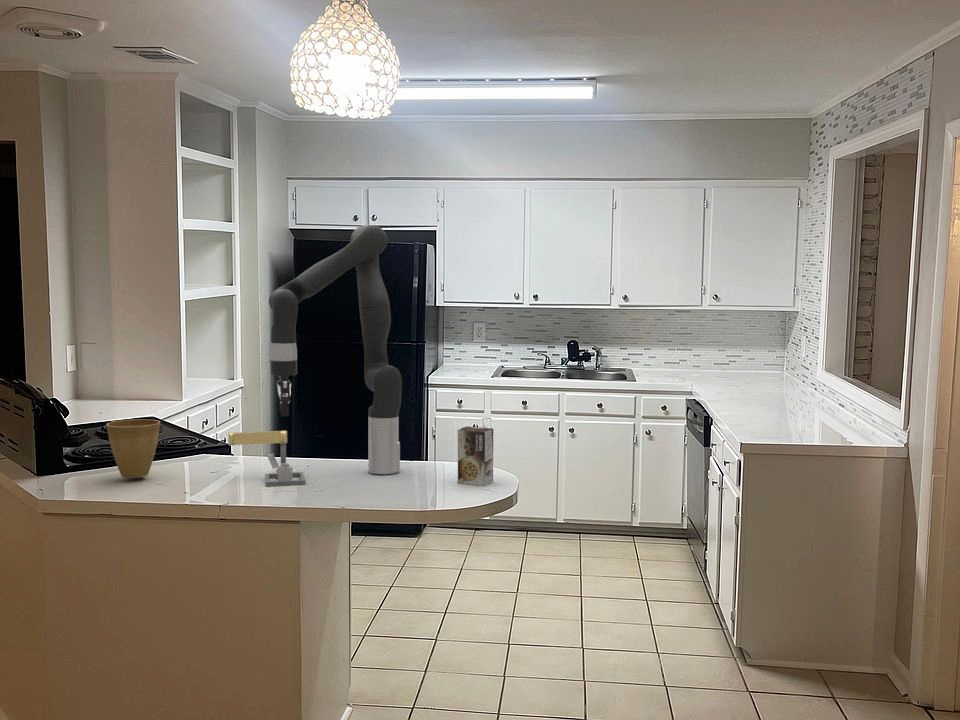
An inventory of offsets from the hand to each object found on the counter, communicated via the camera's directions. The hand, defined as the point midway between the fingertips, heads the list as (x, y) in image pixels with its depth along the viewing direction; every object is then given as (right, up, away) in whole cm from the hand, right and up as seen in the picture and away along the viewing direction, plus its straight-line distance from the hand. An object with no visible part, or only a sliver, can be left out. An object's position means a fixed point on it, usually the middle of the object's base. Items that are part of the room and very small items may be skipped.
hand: (284, 413), depth 253 cm
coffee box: (+56, -21, +3) cm, 59 cm away
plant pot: (-46, -19, +7) cm, 50 cm away
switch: (-1, -19, +5) cm, 20 cm away
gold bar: (-10, -9, +9) cm, 16 cm away
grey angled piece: (-2, -20, +2) cm, 20 cm away
